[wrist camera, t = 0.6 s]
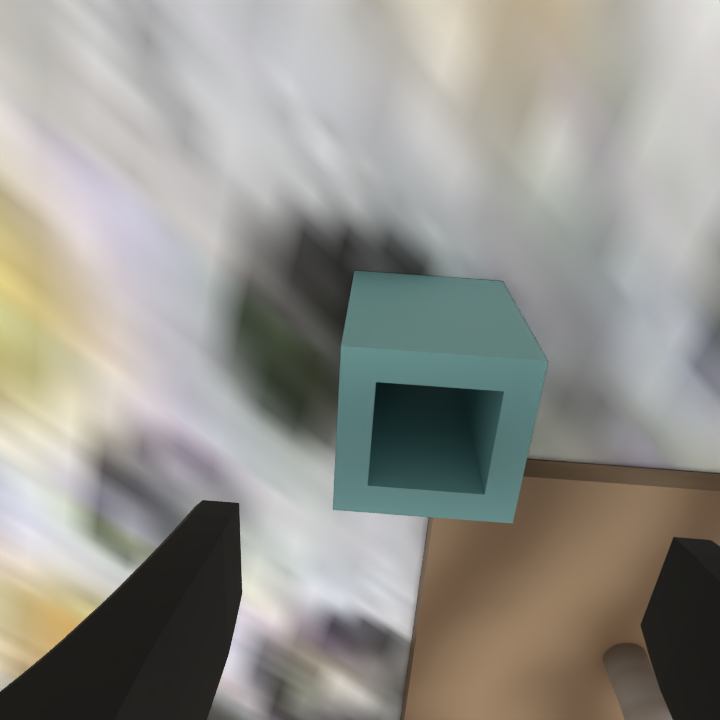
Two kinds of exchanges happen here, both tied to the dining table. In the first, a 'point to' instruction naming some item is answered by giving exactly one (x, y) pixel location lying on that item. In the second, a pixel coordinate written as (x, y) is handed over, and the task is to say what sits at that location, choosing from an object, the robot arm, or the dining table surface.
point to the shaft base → (552, 597)
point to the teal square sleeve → (434, 398)
